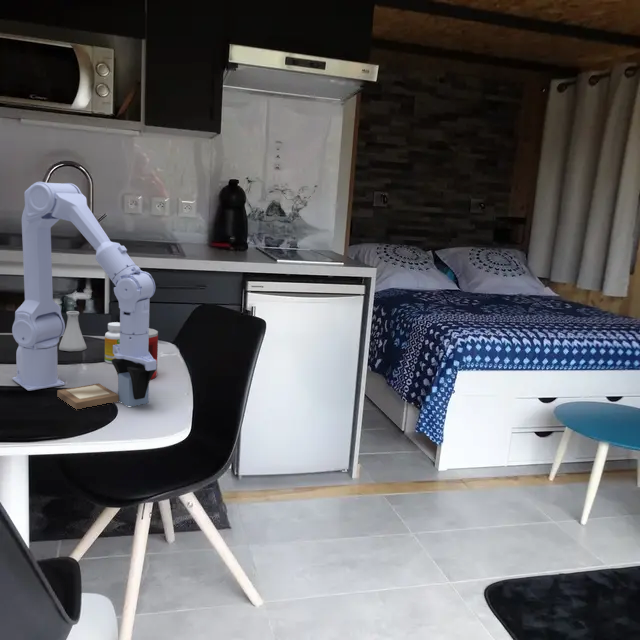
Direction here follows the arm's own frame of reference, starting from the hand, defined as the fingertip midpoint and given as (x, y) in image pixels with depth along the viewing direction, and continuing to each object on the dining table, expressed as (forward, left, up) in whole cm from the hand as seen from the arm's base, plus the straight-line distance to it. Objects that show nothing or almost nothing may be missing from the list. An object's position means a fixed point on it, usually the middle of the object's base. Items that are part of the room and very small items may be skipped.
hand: (133, 394), depth 132 cm
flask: (-45, +7, -2) cm, 46 cm away
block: (0, 0, -2) cm, 2 cm away
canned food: (-15, +10, -2) cm, 18 cm away
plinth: (-6, -7, -2) cm, 9 cm away
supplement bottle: (-29, +11, -2) cm, 31 cm away
